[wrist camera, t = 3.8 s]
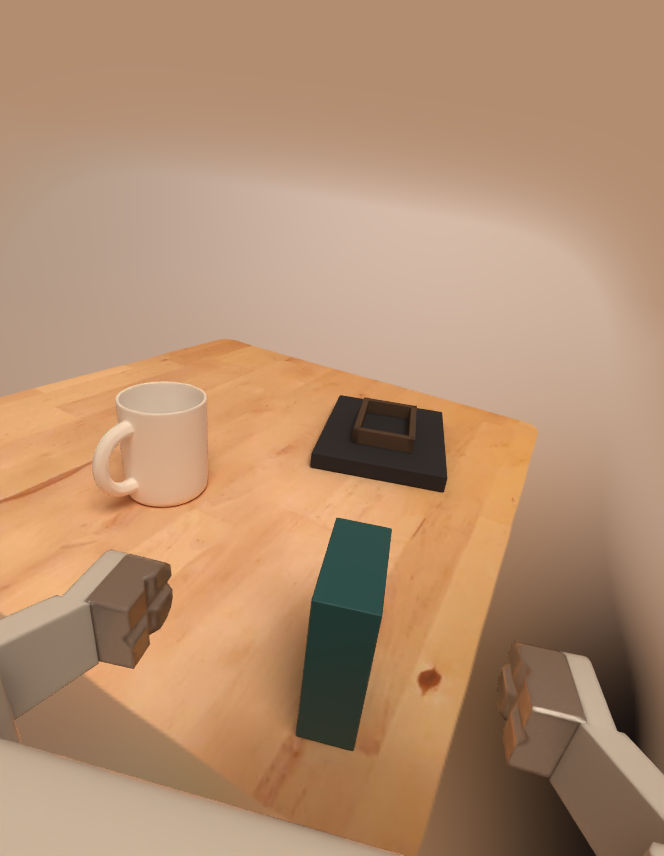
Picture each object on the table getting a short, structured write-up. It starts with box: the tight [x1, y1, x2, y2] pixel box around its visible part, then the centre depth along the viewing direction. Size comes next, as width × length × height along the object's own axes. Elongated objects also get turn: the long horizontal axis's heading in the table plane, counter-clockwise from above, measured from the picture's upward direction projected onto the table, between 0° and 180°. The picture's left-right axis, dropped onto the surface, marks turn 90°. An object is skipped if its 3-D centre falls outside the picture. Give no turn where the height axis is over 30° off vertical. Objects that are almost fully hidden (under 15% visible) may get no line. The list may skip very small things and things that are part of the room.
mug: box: [92, 382, 208, 507], centre depth 45 cm, size 12×8×10 cm
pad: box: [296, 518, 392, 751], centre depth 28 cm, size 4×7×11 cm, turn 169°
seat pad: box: [310, 395, 447, 492], centre depth 62 cm, size 16×20×4 cm
